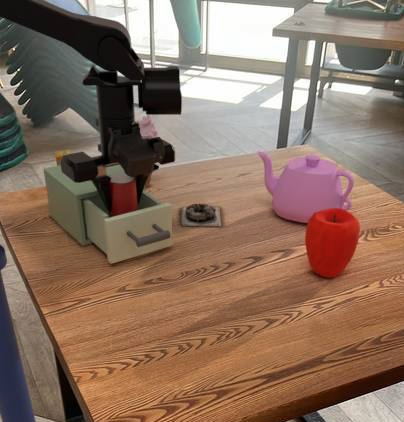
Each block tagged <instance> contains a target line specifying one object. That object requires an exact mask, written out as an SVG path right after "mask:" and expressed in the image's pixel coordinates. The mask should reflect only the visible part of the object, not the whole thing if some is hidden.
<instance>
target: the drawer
mask: <svg viewBox="0 0 404 422" xmlns="http://www.w3.org/2000/svg"><path fill="white" fill-rule="evenodd" d="M81 203H82V211H83V220H84V228H85V235H86V236H87V237H88V238H89V239H90V240H91V241H92V242H93V243H92V244H94V245H95V246H96V247H98V248H99V249H100V250H101V251H103V253H105V255H106V257H107V262H108V263H109V264H110V265H112V264H116V263H118V262H123V261H125V260H129V259H132V258H135V257H139V256H142V255H145V254H148V253H153V252H156V251H159V250H162V249H165V248H168V247H169V248H170V247H171V246H173V215H172V214H173V212H172V211H173V208H172V207H173V205H172V204H171V203H170V202H165V203H162V202H161V201H160V200H159V199H157V198H156V197H155V196H154V195H152V194H150V193H149V192H147V191H146V190H145V191H144V190H143V192H142V195H141V198H140V202H139V204H138V205H137V209H138V210H137V211H134V212H130V213H126V214H122V215H118V216H114V217H110V215H109V211H108V210H107V209H106V207H105V205H104V203H103V201H102V199H101V197H100V195H95V196H91V197H87V198H83V199H81Z"/></svg>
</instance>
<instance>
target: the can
mask: <svg viewBox="0 0 404 422" xmlns="http://www.w3.org/2000/svg"><path fill="white" fill-rule="evenodd" d="M109 177H111V181H110V183H109V187H110V195H111V202H112V211H111V212H109V215H110V217H114V216H118V215H122V214H126V213H130V212H134V211H137V210H138V209H137V189H136V178H135V177H130V176H128V175H126V174H125V173H118V174H113V175H110V176H109Z"/></svg>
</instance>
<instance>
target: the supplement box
mask: <svg viewBox="0 0 404 422" xmlns="http://www.w3.org/2000/svg"><path fill="white" fill-rule="evenodd" d="M67 154H72V153H71V150H70V149H66V150H58V151H55V152H54V156H55V157H54V158H55V161H56V166H59V165H61V164H60V162H61V159H62V157H63V155H67Z"/></svg>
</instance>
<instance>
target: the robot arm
mask: <svg viewBox="0 0 404 422" xmlns="http://www.w3.org/2000/svg"><path fill="white" fill-rule="evenodd" d="M0 18H2V19H5V20H7V21H10V22H12V23H14V24H17V25H20V26H21V27H24V28H27V29H29V30H31V31H34V32H37V33H39V34H40V35H41V34H42V35H43V36H47V37H49V38H51V39H54V40H56V41H58V42H61V43H63V44H64V45H66V46H68V47H70V48H71V49H73V50H74V51H75V52H77V53H78V54H79V55H81V56H82V57H83V58H84V59H86V60H88V61H89V62H91V63H93V64H92V65H91V66H90V68H89V70H88V72H87V73H86V74H84V76H83V78H82V85H83V86H88V87H89V86H90V87H92V86H93V87H94V86H95V92H96V94H95V95H96V105H97V117H96V118H94V121H95V126H96V127H98V128H99V139H100V143H98V144H97V151H98V152H100V153H101V155H97V156H90V155H89V154H87V153H85V152H84V151H78V152H73V153H71V154H67V155H63V157H62V159H61V162H60V164H61V171H62V173H64V174H65V175H66V176H67V177H69V178H70V179H71V180H72V181H74V182H76V183H81V182H86V181H92V183H93V184H94V186H95V187H96V189H97V191H98V193H99V195H100V197H101V199H102V201H103V203H104V205H105V207H106V209H107V210H108V211H109V212H111V211H112V202H111V195H110V187H109V183H110V181H111V177H109V176H108V175H106V167H110V166H115V165H120V166H121V167H122V168H123V170H124V172H125V174H126V175H128V176H130V177H135V178H136V189H137V205H138V204H139V202H140V198H141V195H142V192H143V189H144V186H145V183H146V181H147V179H148V176H149V175H150V174H151V173H152V174H153V173H154V172H155V171H158V170H159V169H160V166H159V165H162V166H163V165H167V164H172V163H175V162H176V149H175V147H174V146H173V144H172V143H170V142H168V141H166V140H164V139H162V138H161V136H157V137H155V138H150V139H148V138H146V139H142V136H141V133H140V127H139V123H137V121H136V116H135V115H136V114H135V113H136V112H135V96H134V94H135V93H134V86H137V100H138V101H137V102H138V108H139V109H142V112H145V115H146V116H147V115H150V116H154V115H155V116H181V115H182V108H183V106H182V105H183V103H182V101H183V95H182V89H181V78H180V77H181V74H180V73H181V72H180V67H179V66H177V65H170V66H166V67H165V66H164V67H145V63H144V62H143V61H142V58H140V57H139V55H138V54H137V53H136V51H135V49H134V48H133V47H132V38H131V37H132V36H131V35H130V33H129V30H128V29H127V27H126V26H125V25H124V24H122V23H121V22H120V21H117V20H115V19H109V18H105V17H100V16H96V15H88V14H80V13H76V12H72V11H70V10H67V9H65V8H62V7H60V6H58V5H57V4H53V3H51V2H48V1H46V0H0ZM95 65H96V66H98V67H99V68H100V69H102V70H99V69H98V68H97V67H96V66H95ZM119 74H121V75H119Z"/></svg>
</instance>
